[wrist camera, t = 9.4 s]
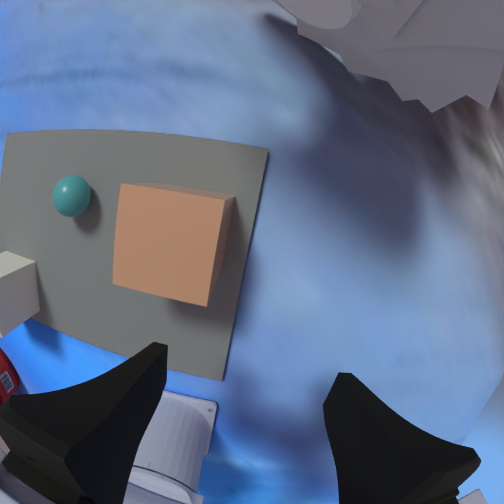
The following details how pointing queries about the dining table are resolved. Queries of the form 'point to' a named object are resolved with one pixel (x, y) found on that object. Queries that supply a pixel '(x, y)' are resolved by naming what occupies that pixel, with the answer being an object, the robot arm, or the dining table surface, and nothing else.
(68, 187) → the teal ball
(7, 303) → the pale gray cube
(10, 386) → the canned food
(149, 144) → the mat
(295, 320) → the dining table surface
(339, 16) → the white bladed rotor
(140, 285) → the clay colored cube
